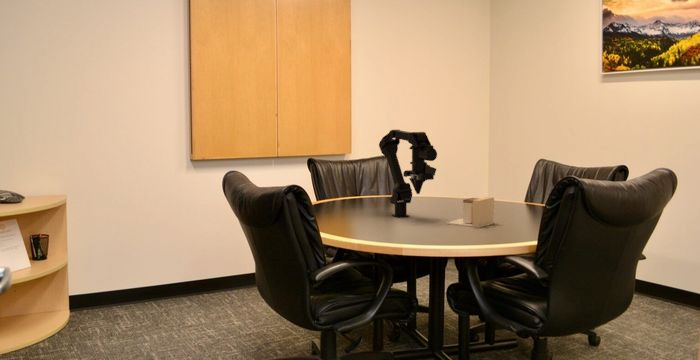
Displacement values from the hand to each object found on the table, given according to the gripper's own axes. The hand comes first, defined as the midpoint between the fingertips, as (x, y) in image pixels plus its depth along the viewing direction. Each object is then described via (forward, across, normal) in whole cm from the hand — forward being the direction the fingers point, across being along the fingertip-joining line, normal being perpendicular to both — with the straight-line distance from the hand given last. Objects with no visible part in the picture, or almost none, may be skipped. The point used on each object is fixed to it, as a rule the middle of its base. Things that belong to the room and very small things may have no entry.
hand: (418, 193), depth 288 cm
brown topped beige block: (+12, -19, -16) cm, 28 cm away
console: (+12, -18, -16) cm, 27 cm away
